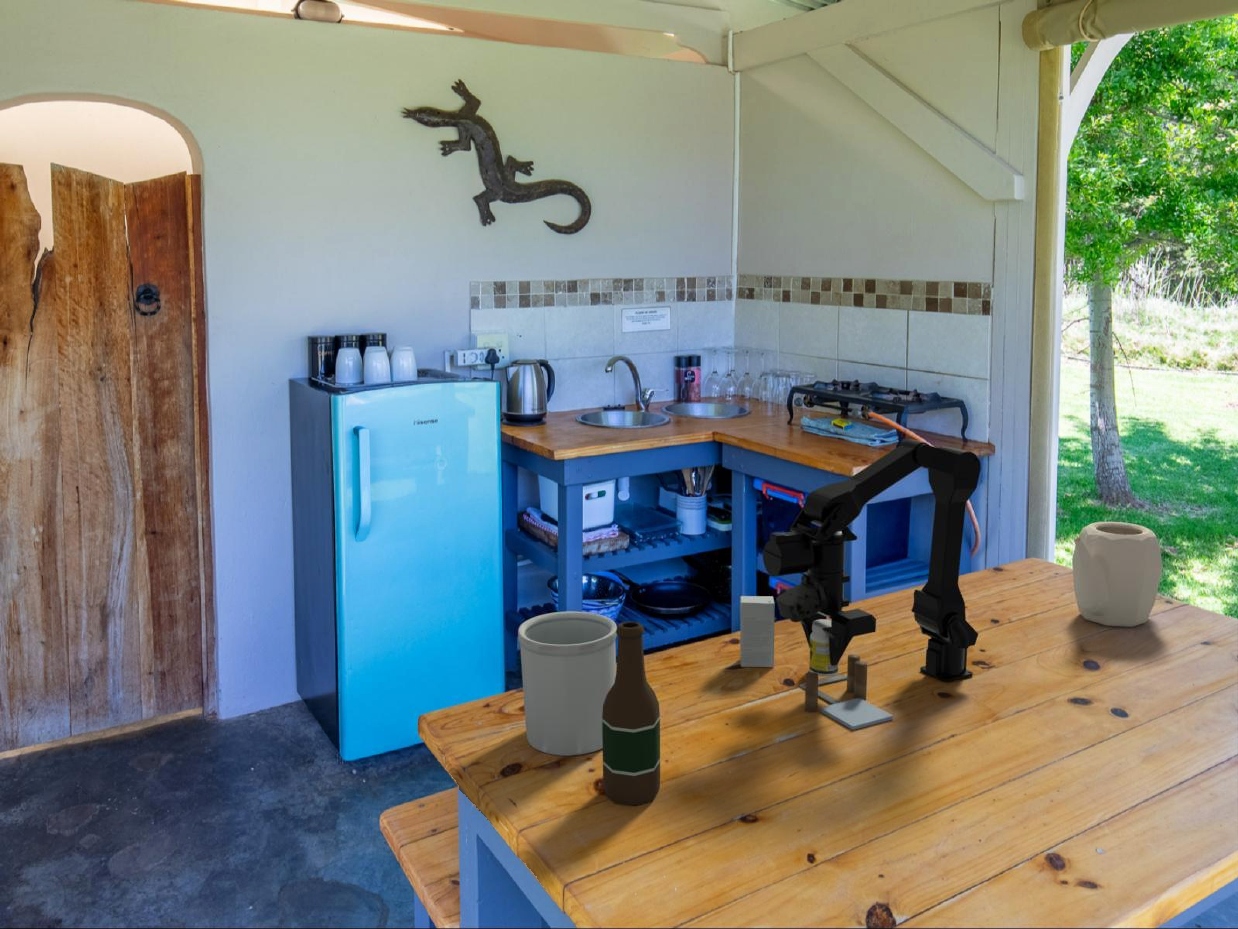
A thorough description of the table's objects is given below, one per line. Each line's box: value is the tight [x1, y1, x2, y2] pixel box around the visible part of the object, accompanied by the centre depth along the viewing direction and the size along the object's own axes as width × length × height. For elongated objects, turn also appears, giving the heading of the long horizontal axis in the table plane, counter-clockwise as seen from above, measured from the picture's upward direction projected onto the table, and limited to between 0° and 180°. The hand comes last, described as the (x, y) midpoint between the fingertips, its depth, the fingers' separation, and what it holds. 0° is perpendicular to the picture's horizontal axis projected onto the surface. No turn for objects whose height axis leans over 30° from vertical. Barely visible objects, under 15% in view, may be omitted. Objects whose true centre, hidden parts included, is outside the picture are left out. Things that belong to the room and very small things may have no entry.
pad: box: [819, 698, 894, 731], centre depth 167 cm, size 8×8×1 cm
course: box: [799, 653, 868, 714], centre depth 177 cm, size 14×15×6 cm
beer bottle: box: [602, 621, 661, 807], centre depth 141 cm, size 8×8×24 cm
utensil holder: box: [517, 610, 618, 757], centre depth 159 cm, size 15×15×18 cm
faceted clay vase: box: [1071, 521, 1163, 628], centre depth 208 cm, size 16×27×19 cm, turn 124°
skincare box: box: [739, 595, 776, 668], centre depth 188 cm, size 6×4×12 cm
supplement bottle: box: [808, 619, 840, 678], centre depth 173 cm, size 5×5×8 cm
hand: (824, 660), depth 173 cm, fingers closed on supplement bottle, 5 cm apart
